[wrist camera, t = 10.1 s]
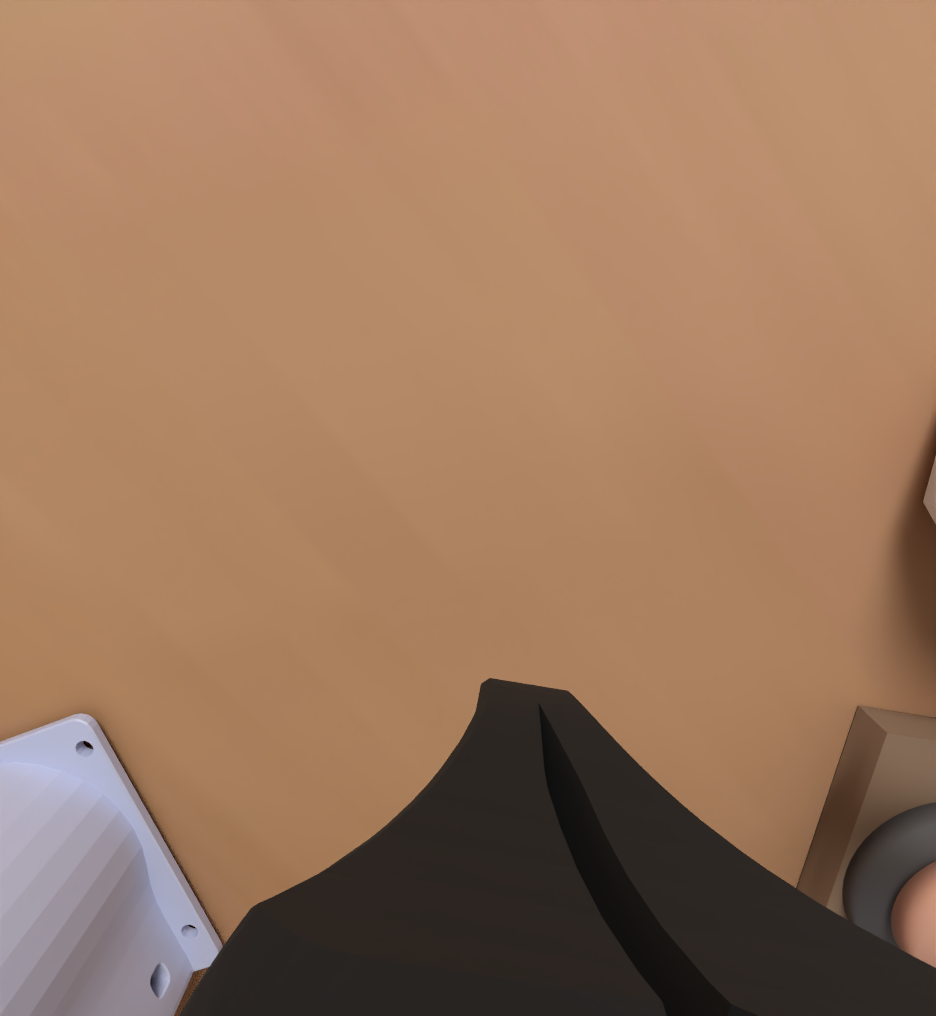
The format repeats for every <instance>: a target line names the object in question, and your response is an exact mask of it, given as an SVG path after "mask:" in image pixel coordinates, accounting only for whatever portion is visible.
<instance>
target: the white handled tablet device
mask: <svg viewBox="0 0 936 1016" xmlns="http://www.w3.org/2000/svg"><path fill="white" fill-rule="evenodd" d="M923 503H924V505H925V506H926V508H927V510H928V512H929V514H930V515H931V517H932V519H933V521H934V522H935V524H936V456H935V460H934V464H933V467H932V471H931V474H930V478H929V482H928V485H927V489H926V493H925V496H924V500H923Z"/></svg>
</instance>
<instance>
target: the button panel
mask: <svg viewBox="0 0 936 1016" xmlns="http://www.w3.org/2000/svg"><path fill="white" fill-rule="evenodd" d="M935 861H936V718H931V717H925V716H919V715H913V714H907V713H901V712H895V711H889V710H882V709H876V708H870V707H864V706H858V708H857V711H856V714H855V717H854V720H853V723H852V726H851V729H850V732H849V735H848V738H847V741H846V744H845V746H844V749H843V752H842V755H841V758H840V761H839V764H838V767H837V770H836V773H835V776H834V779H833V782H832V785H831V788H830V791H829V794H828V797H827V800H826V803H825V806H824V809H823V812H822V815H821V818H820V821H819V824H818V827H817V830H816V833H815V836H814V839H813V841H812V844H811V847H810V850H809V853H808V856H807V859H806V862H805V865H804V868H803V871H802V874H801V877H800V880H799V883H798V886H797V889H798V890H799V891H801V892H802V893H804V894H806V895H807V896H809V897H810V898H812V899H813V900H815V901H816V902H818V903H820V904H821V905H823V906H825V907H826V908H828V909H830V910H831V911H833V912H835V913H837V914H838V915H840V916H842V917H843V918H845V919H847V920H848V921H850V922H852V923H854V924H855V925H857V926H859V927H861V928H862V929H864V930H866V931H868V932H870V933H872V934H873V935H875V936H877V937H879V938H881V939H883V940H884V941H886V942H888V943H890V944H892V945H894V946H895V947H897V948H899V947H898V945H897V943H896V942H895V939H894V937H893V934H892V929H891V914H892V909H893V905H894V902H895V900H896V898H897V896H898V894H899V892H900V891H901V889H902V888H903V887H904V885H905V884H906V883H907V882H908V880H910V879H911V878H912V877H913V876H914V875H915V874H916V873H917V872H919V871H920V870H921V869H923V868H924V867H926V866H928V865H929V864H931V863H933V862H935ZM899 949H900V948H899Z"/></svg>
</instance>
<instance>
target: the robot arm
mask: <svg viewBox="0 0 936 1016" xmlns="http://www.w3.org/2000/svg"><path fill="white" fill-rule="evenodd" d="M83 741H87V742H89V743H90V744H91V745H92V746H93V749H90V748H87V747H86V746H85V745H84V743H83ZM189 925H192V926H194V927H195V928H192V927H190V926H189ZM207 967H209V968H208V970H207V971H206V973H205V974H204V976H203V977H202V979H201V980H200V982H199V984H198V985H197V987H196V989H195V990H194V992H193V994H192V995H191V997H190V999H189V1001H188V1002H187V1004H186V1006H185V1007H184V1009H183V1011H182V1012H181V1014H180V1016H936V968H935V967H933V966H931V965H929V964H927V963H925V962H923V961H921V960H920V959H918V958H916V957H914V956H912V955H910V954H908V953H906V952H905V951H903V950H901V949H899V948H897V947H895V946H894V945H892V944H890V943H888V942H886V941H884V940H883V939H881V938H879V937H877V936H875V935H873V934H872V933H870V932H868V931H866V930H864V929H862V928H861V927H859V926H857V925H855V924H854V923H852V922H850V921H848V920H847V919H845V918H843V917H842V916H840V915H838V914H837V913H835V912H833V911H831V910H830V909H828V908H826V907H825V906H823V905H821V904H820V903H818V902H816V901H815V900H813V899H812V898H810V897H809V896H807V895H806V894H804V893H802V892H801V891H799V890H798V889H796V888H795V887H793V886H792V885H790V884H789V883H787V882H785V881H784V880H782V879H781V878H779V877H778V876H776V875H775V874H773V873H772V872H770V871H768V870H767V869H766V868H764V867H763V866H761V865H760V864H758V863H757V862H756V861H754V860H753V859H751V858H750V857H748V856H747V855H746V854H744V853H743V852H741V851H740V850H739V849H737V848H736V847H735V846H734V845H732V844H731V843H730V842H728V841H727V840H726V839H724V838H723V837H722V836H721V835H719V834H718V833H717V832H715V831H714V830H713V829H711V828H710V827H709V826H708V825H706V824H705V823H704V822H702V821H701V820H700V819H699V818H698V817H696V816H695V815H694V814H693V813H691V812H690V811H689V810H688V809H687V808H686V807H684V806H683V805H682V804H681V803H680V802H679V801H678V800H677V799H675V798H674V797H673V796H672V795H671V794H670V793H669V792H668V791H667V790H665V789H664V788H663V787H662V786H661V785H660V784H659V783H658V782H657V781H656V780H654V779H653V778H652V777H651V776H650V775H649V774H648V773H647V772H646V771H645V770H644V769H643V768H642V767H641V766H640V765H639V764H638V763H637V762H636V761H635V760H634V759H633V758H632V757H631V756H630V755H629V754H628V753H627V752H626V751H625V750H624V749H623V748H622V747H621V746H620V745H619V744H618V743H617V742H616V741H615V740H614V738H613V737H612V736H611V735H610V734H609V733H608V732H607V731H606V730H605V729H604V728H603V727H602V726H601V725H600V723H599V722H598V721H597V720H596V719H595V718H594V717H593V716H592V715H591V714H590V713H589V712H588V711H587V709H586V708H585V707H584V706H583V705H582V704H581V703H580V702H579V701H578V700H577V699H576V698H575V697H574V696H573V695H572V694H571V693H570V692H568V691H566V690H559V689H553V688H547V687H541V686H535V685H529V684H523V683H517V682H510V681H504V680H498V679H492V678H489V679H488V680H486V681H485V682H483V683H482V684H481V687H480V693H479V698H478V703H477V708H476V712H475V714H474V717H473V718H472V720H471V722H470V724H469V726H468V728H467V730H466V731H465V733H464V735H463V737H462V739H461V740H460V742H459V743H458V745H457V746H456V748H455V749H454V750H453V752H452V753H451V755H450V756H449V758H448V759H447V760H446V762H445V763H444V765H443V766H442V767H441V769H440V770H439V771H438V773H437V774H436V775H435V776H434V777H433V779H432V780H431V781H430V782H429V783H428V785H427V786H426V787H425V788H424V789H423V790H422V791H421V792H420V793H419V794H418V795H417V796H416V798H415V799H414V800H413V801H412V802H411V803H410V804H409V805H408V806H407V807H405V808H404V809H403V810H402V811H401V812H400V813H399V814H398V815H397V816H396V817H395V818H394V819H393V820H391V821H390V822H389V823H388V824H387V825H386V826H385V827H384V828H382V829H381V830H380V831H379V832H378V833H376V834H375V835H374V836H373V837H371V838H370V839H369V840H367V841H366V842H364V843H363V844H362V845H360V846H359V847H357V848H356V849H354V850H353V851H352V852H350V853H349V854H347V855H346V856H344V857H343V858H341V859H340V860H339V861H337V862H336V863H334V864H333V865H331V866H330V867H329V868H327V869H325V870H324V871H322V872H321V873H319V874H317V875H315V876H313V877H311V878H310V879H308V880H306V881H304V882H302V883H300V884H298V885H296V886H294V887H292V888H290V889H288V890H286V891H284V892H282V893H280V894H278V895H276V896H274V897H272V898H270V899H267V900H265V901H263V902H261V903H258V904H257V905H255V906H254V907H252V908H251V909H250V910H249V912H248V913H247V914H246V916H245V917H244V918H243V920H242V921H241V922H240V924H239V925H238V926H237V928H236V929H235V931H234V932H233V933H232V935H231V936H230V938H229V939H228V940H227V942H226V943H225V945H224V946H222V943H221V941H220V939H219V937H218V936H217V934H216V932H215V930H214V929H213V927H212V925H211V923H210V921H209V920H208V918H207V916H206V914H205V913H204V911H203V909H202V907H201V905H200V904H199V902H198V900H197V898H196V897H195V895H194V893H193V891H192V890H191V888H190V886H189V884H188V882H187V881H186V879H185V877H184V875H183V874H182V872H181V870H180V868H179V866H178V865H177V863H176V861H175V859H174V858H173V856H172V854H171V852H170V851H169V849H168V847H167V845H166V843H165V842H164V840H163V838H162V836H161V835H160V833H159V831H158V829H157V827H156V826H155V824H154V822H153V820H152V819H151V817H150V815H149V813H148V812H147V810H146V808H145V806H144V804H143V803H142V801H141V799H140V797H139V796H138V794H137V792H136V790H135V788H134V787H133V785H132V783H131V781H130V780H129V778H128V776H127V774H126V773H125V771H124V769H123V767H122V765H121V764H120V762H119V760H118V758H117V757H116V755H115V753H114V751H113V749H112V748H111V746H110V744H109V742H108V741H107V739H106V737H105V735H104V734H103V732H102V730H101V728H100V726H99V725H98V723H97V722H96V721H95V719H94V718H92V717H91V716H89V715H87V714H82V713H80V714H75V715H72V716H69V717H66V718H64V719H61V720H58V721H55V722H53V723H50V724H47V725H44V726H42V727H39V728H36V729H33V730H31V731H28V732H25V733H23V734H20V735H17V736H14V737H12V738H9V739H6V740H3V741H1V742H0V1016H174V1015H175V1012H176V1010H177V1008H178V1006H179V1004H180V1001H181V999H182V997H183V995H184V992H185V990H186V988H187V986H188V983H189V981H190V979H191V977H192V974H193V972H195V971H198V970H201V969H204V968H207Z"/></svg>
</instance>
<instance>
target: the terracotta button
mask: <svg viewBox="0 0 936 1016" xmlns="http://www.w3.org/2000/svg"><path fill="white" fill-rule="evenodd" d="M891 929H892V934H893V937H894V939H895V942H896V943H897V945H898V947H899V948H900V949H901V950H903V951H905V952H906V953H908V954H910V955H912V956H914V957H916V958H918V959H920V960H921V961H923V962H925V963H927V964H929V965H931V966H933V967H935V968H936V861H935V862H933V863H931V864H929V865H928V866H926V867H924V868H923V869H921V870H920V871H919V872H917V873H916V874H915V875H914V876H913V877H912V878H911V879H910V880H908V882H907V883H906V884H905V885H904V887H903V888H902V889H901V891H900V892H899V894H898V896H897V898H896V900H895V902H894V905H893V909H892V914H891Z"/></svg>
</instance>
